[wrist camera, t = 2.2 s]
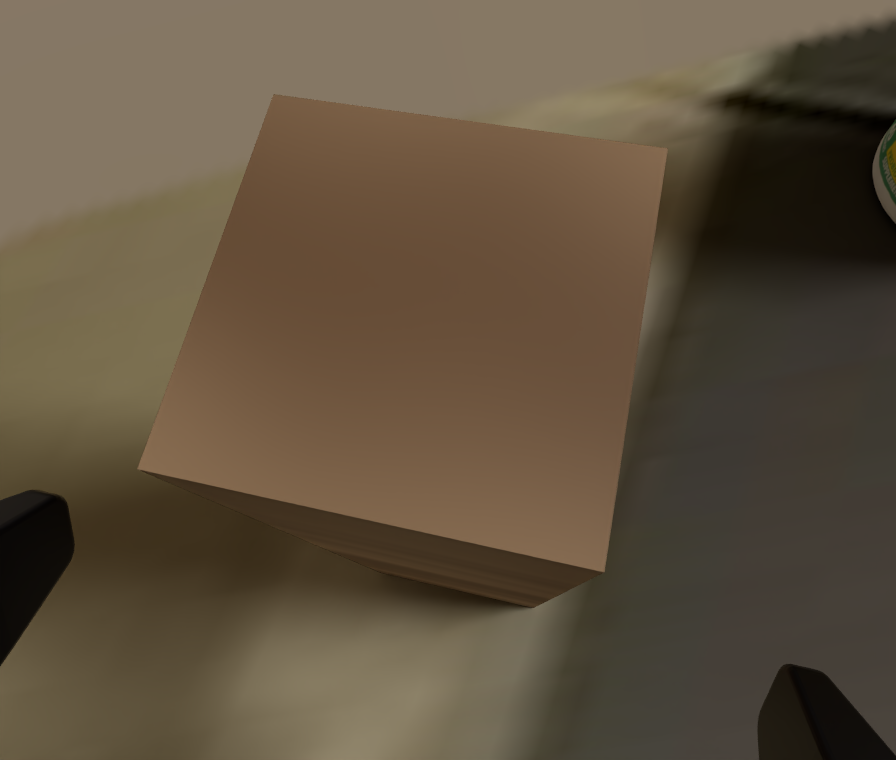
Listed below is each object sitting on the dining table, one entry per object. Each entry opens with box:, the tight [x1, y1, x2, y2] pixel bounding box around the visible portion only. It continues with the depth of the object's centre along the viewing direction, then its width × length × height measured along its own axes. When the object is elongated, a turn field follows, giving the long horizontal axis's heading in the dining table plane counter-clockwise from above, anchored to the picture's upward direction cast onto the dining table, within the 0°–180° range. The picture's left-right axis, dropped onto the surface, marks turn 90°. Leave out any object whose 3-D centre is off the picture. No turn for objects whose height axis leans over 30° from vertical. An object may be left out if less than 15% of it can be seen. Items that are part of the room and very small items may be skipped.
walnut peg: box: [138, 94, 668, 608], centre depth 13 cm, size 4×4×13 cm
